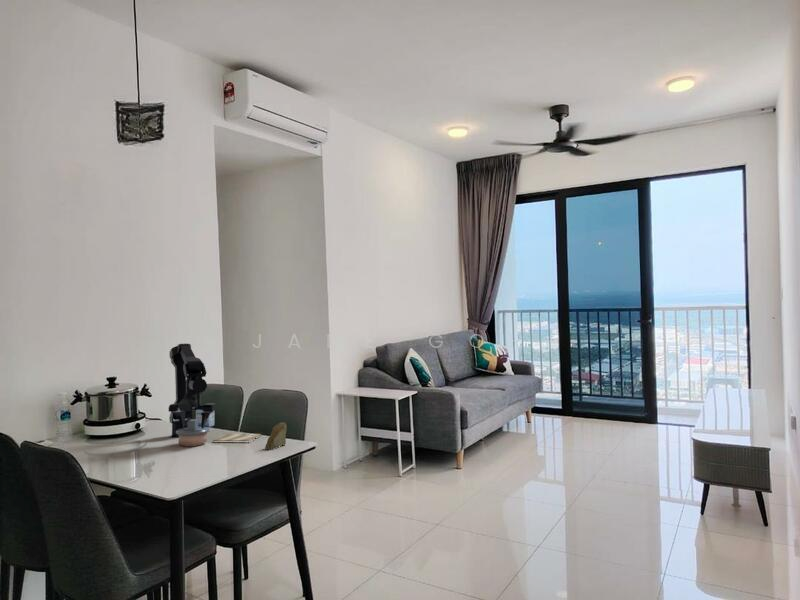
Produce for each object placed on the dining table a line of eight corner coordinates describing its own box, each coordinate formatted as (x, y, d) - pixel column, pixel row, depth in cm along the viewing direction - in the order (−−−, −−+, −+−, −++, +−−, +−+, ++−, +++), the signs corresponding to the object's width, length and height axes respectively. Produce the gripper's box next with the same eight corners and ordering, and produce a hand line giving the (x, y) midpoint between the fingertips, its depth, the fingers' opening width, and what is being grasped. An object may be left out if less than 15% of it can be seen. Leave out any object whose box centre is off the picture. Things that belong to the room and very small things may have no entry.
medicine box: (195, 426, 265) (195, 408, 265) (201, 424, 269) (201, 407, 269) (209, 427, 262) (209, 409, 263) (214, 425, 267) (214, 407, 267)
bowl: (173, 447, 218) (173, 434, 218) (186, 441, 229) (186, 429, 229) (199, 447, 217) (199, 434, 217) (211, 441, 228) (211, 429, 228)
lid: (169, 435, 217) (170, 422, 217) (185, 429, 230) (185, 417, 230) (200, 435, 216) (200, 422, 216) (214, 429, 229) (214, 417, 229)
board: (213, 442, 226) (213, 440, 226) (226, 435, 240) (226, 433, 240) (249, 442, 225) (249, 440, 225) (261, 436, 239) (261, 433, 239)
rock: (268, 445, 208) (292, 439, 214) (261, 426, 212) (285, 420, 218) (262, 458, 216) (286, 451, 221) (256, 439, 220) (279, 432, 225)
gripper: (161, 392, 217) (161, 431, 216) (206, 392, 215) (205, 432, 214) (175, 389, 228) (175, 426, 227) (218, 389, 226) (217, 427, 225)
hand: (192, 428), depth 223 cm, fingers open, 8 cm apart
